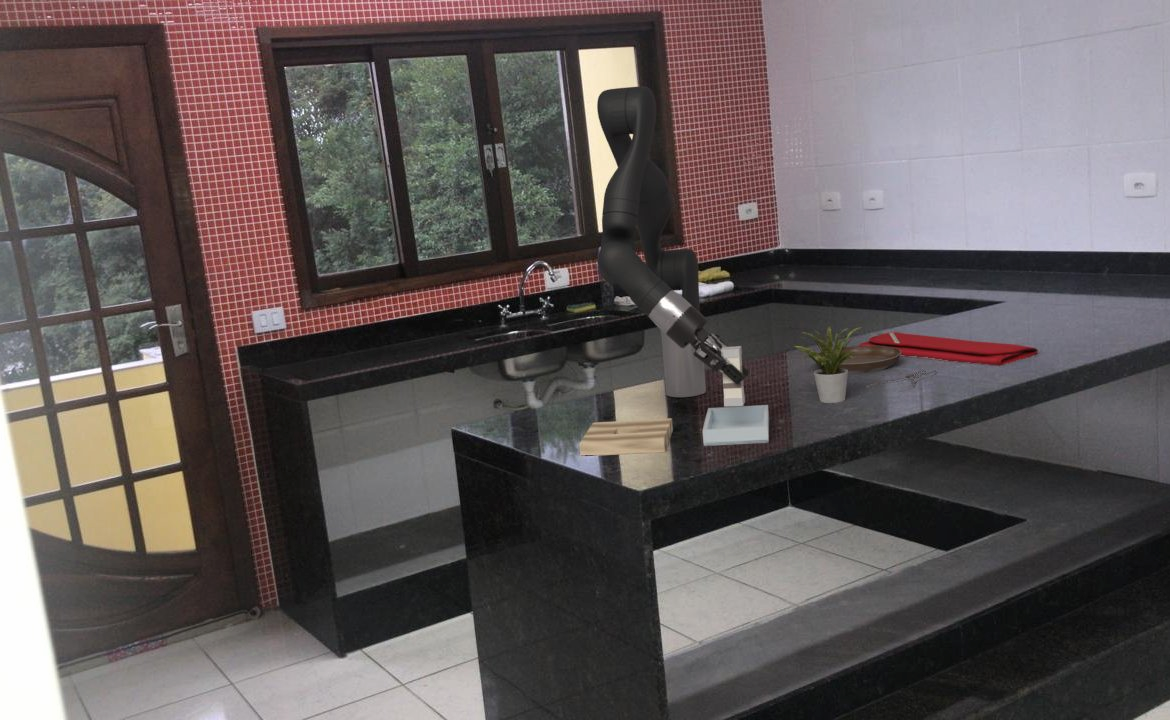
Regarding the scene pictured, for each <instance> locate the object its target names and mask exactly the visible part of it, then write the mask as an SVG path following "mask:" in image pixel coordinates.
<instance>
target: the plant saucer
mask: <svg viewBox="0 0 1170 720" xmlns="http://www.w3.org/2000/svg"><path fill="white" fill-rule="evenodd" d="M844 347H845V346H844ZM844 347H843V348H844ZM839 349H840V347H839ZM842 350H843V349H842ZM838 351H839V350H838ZM833 352H834V348H833ZM845 352H855V353H856V354H857V355H856V354H855V353H850V354H848V355H847V356H848V357H850V356H852V357H854V358H850V359H848V360H846V361H844V362H843V363H842V364H841V366H840V368H842V369H847V370H848V374H860V373H859V372H864V373H871V372H870V371H873V372H877V371H876V370H879V371H882V370H881V369H883V370H886V369H888V367H889V368H890V366H891V367H892V366H893V365H894V364H895V363H896V362H897V361H898V360H899V358H900V357H901V356H900V355H901V351H900V350H899V349H897V348H893V347H886V346H859V345H855V346H854V345H852V346H846V347H845V348H844V350H843V352H842V354H843V353H845ZM818 354H819V355H820V356H821V357H824V356H822V355H823V354H822V353H820V352H818ZM821 354H822V355H821ZM842 354H841V355H842ZM840 357H841V356H840ZM825 361H826V360H825ZM885 368H886V369H885Z"/></svg>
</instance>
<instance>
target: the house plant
mask: <svg viewBox="0 0 1170 720" xmlns="http://www.w3.org/2000/svg"><path fill="white" fill-rule="evenodd" d="M862 328H863V326H861V327H856V328H854V329H852V330H850V331H849V332H848V333H847V334H846V335H845V337H844V338H843V339H841V340H839V338H840V336H841V334H842V333H843V332H844V331H846V330H849V328H848V327H847V328H845V329H843V330H841V331H840V333H839V332H837V333H835V336H834V337H835V338H834V344H833V337H832V336H833V333H832V332H833V331H832V329H831V326H830V325H827V332H826V340H825V338H824V337H823V336H822V335H821V334H820V333H819V331H817V330H815V329H814V328H812V330H813V331H814V332H815V333H816V334H817V335H818V336H819V337H820V339H819V338H818V337H817V336H816V335H814V334H812V333H808V332H804V331H803V332H802V331H801V333H802V334H806V335H808V336H809V337H810V338H811V339H812V340H814V342H815V343H816V345H817V346H818V348H819V350H818V353H822V354H823V355H822V354H821V355H822V356H824V357H821V356H820V355H819V354H818V353H817V352H816V351H814V349H813V350H812V349H810V348H808V347H805V346H801V345H793V347H794V348H797V349H799V350H800V351H801V352H803V353H806V354H807V355H805V356H802V357H800V358H799V359H798V361H800V360H802V359H805V358H806V359H807V358H811V359H812V360H813V361H814V362H815V363H816V365H817V366H819V367H820V368H821V369H817V370H814V372H813V377H814V379H815V384H816V389H817V394H818V397H819V402H821V403H825V404H833V403H834V404H837V403H842V402H845V400H846V393H847V385H848V384H847V383H848V376H849V375H848V374H849V373H848V370H847V369H842V368H840V366H841V364H842V363H843V362H844V361H846V360H848V359H850V358H854V357H852V356H850V357H848V356H847V355H848V354H850V353H855V352H845V353H843V354H842V352H843V350H844V348H845V347H847V345H848V344H849V343H850V342H851V340H852V339H853V338H854V336H852V335H853V334H854V333H855V331H857V330H860V329H862ZM808 336H806V337H807V338H808ZM851 336H852V337H851ZM806 337H805V340H807V342H810V343H811V341H810V340H809V339H807V338H806ZM850 337H851V338H850ZM801 338H802V339H804V337H802V336H801ZM848 339H849V340H848ZM838 340H839V341H838ZM847 341H848V342H847ZM846 342H847V343H846ZM816 345H814V344H813V346H814V347H815V348H816V349H818V348H817V347H816ZM843 347H844V348H843ZM839 348H840V349H839ZM833 349H834V352H833ZM842 349H843V350H842ZM838 350H839V351H838ZM841 354H842V355H841ZM855 354H856V353H855ZM856 355H857V354H856ZM840 356H841V357H840ZM825 360H826V361H825Z"/></svg>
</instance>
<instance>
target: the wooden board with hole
mask: <svg viewBox="0 0 1170 720" xmlns="http://www.w3.org/2000/svg"><path fill="white" fill-rule="evenodd" d="M673 431H674V428H673V418H671V417H670V418H657V419H654V418H652V419H637V420H635V419H634V420H617V421H602V422H601V421H599V422H592V424H591V425H590V427H589V429H588V430H587V431H586V432H585V434H584V436H583V437H582V439H581V440H580V442H579V443H578V444H579V454H580V456H581V455H597V456H611V455H612V456H613V455H614V456H615V455H636V454H637V455H638V454H654V453H655V454H657V453H658V454H659V453H666V450H667V448H668V444H669V442H670V440H671V436H672V433H673Z"/></svg>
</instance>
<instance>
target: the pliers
mask: <svg viewBox="0 0 1170 720" xmlns="http://www.w3.org/2000/svg"><path fill="white" fill-rule="evenodd" d="M924 370H925V369H922V370H920V371H918V373H919V372H921V371H922V372H923V371H924ZM933 372H936V373H937V370H933V371H930V372H925V373H923V374H924V375H925V374H926V373H927V374H931V373H933ZM913 373H914V374H915V373H916V374H917V372H913ZM913 373H911V374H909V375H906V376H904V377H900V378H895V379H894V378H893V379H888V380H882V381H877V382H873V383H870V384H868V385H866V387H865V389H869V388H872V387H874V386H877V385H876V384H878V385H880V384H879V383H882V384H884V383H883V382H888V381H895V380H899V379H904V378H910V377H913V378H914V379H915V378H919V377H918V376H919V375H918V374H917V375H918V376H917V377H916V374H915V376H914V374H913ZM927 374H926V375H927ZM920 377H921V375H920ZM914 379H913V381H914ZM911 381H912V380H911ZM913 381H912V383H911V384H912V385H909V386H907V387H904V388H901V389H899V390H903V389H907V388H909V387H911V386H913V385H914V384H915V381H914V382H913ZM873 385H874V386H873ZM871 386H872V387H871Z"/></svg>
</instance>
